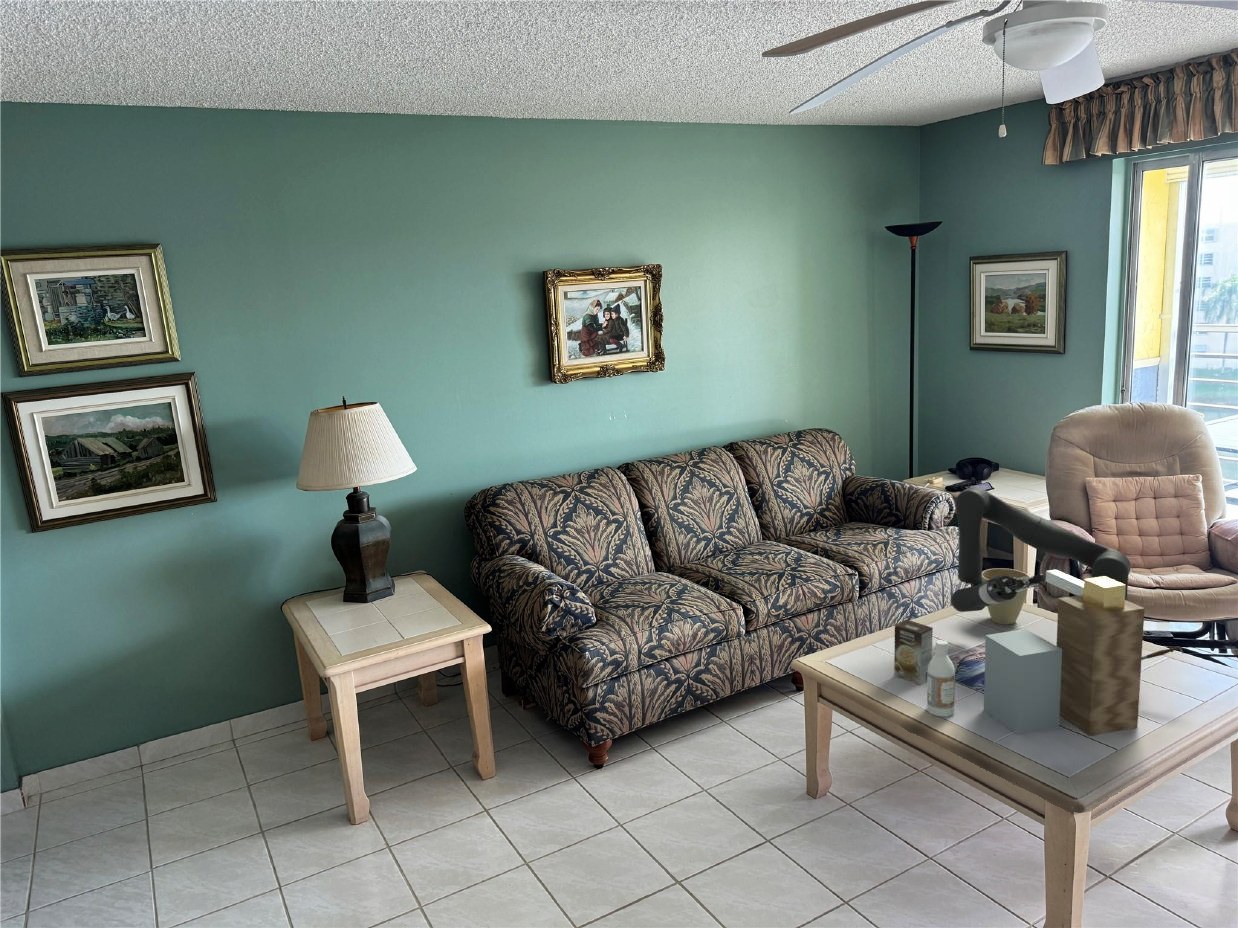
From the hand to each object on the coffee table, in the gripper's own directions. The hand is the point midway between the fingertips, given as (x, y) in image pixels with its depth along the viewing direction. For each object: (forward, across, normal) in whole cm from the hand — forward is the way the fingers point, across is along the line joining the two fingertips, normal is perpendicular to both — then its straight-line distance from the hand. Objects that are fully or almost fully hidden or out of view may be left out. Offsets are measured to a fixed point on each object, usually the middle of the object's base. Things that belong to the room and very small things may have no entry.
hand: (1029, 579), depth 248 cm
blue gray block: (+3, -17, +36) cm, 40 cm away
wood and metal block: (+19, 0, +8) cm, 20 cm away
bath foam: (-6, -34, +32) cm, 46 cm away
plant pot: (-48, +20, +7) cm, 53 cm away
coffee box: (-24, -30, +21) cm, 44 cm away
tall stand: (+9, 0, +39) cm, 40 cm away
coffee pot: (+2, +19, +35) cm, 40 cm away
